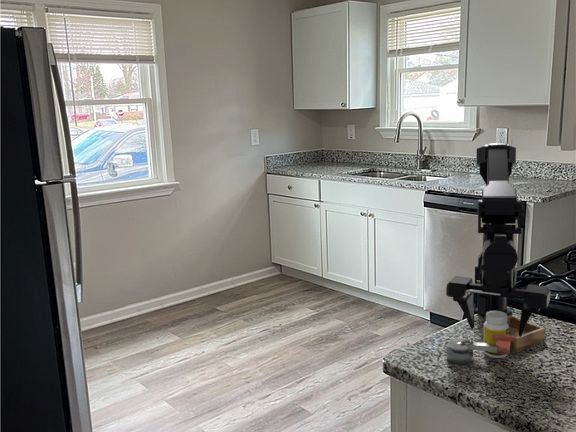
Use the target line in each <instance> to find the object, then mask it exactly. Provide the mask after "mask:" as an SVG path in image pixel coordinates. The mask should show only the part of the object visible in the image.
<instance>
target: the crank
mask: <svg viewBox="0 0 576 432" xmlns="http://www.w3.org/2000/svg"><path fill="white" fill-rule="evenodd" d="M492 340H496V344H494V343H484V342H477V341H476V342H475V341H470V340H469V339H465V338H463V337H462V338H460V337H457V338H456V337H455V338H452V339H450V340H449V348H450V349H451V350H452V351H455V352H468V351H470V350H473V351H482V352H484V351H496V353H498V354H501V355H507V354H508V355H509V354H510V353H511V350H510V341H514V336H507V335H492ZM508 355H507V356H508Z"/></svg>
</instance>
